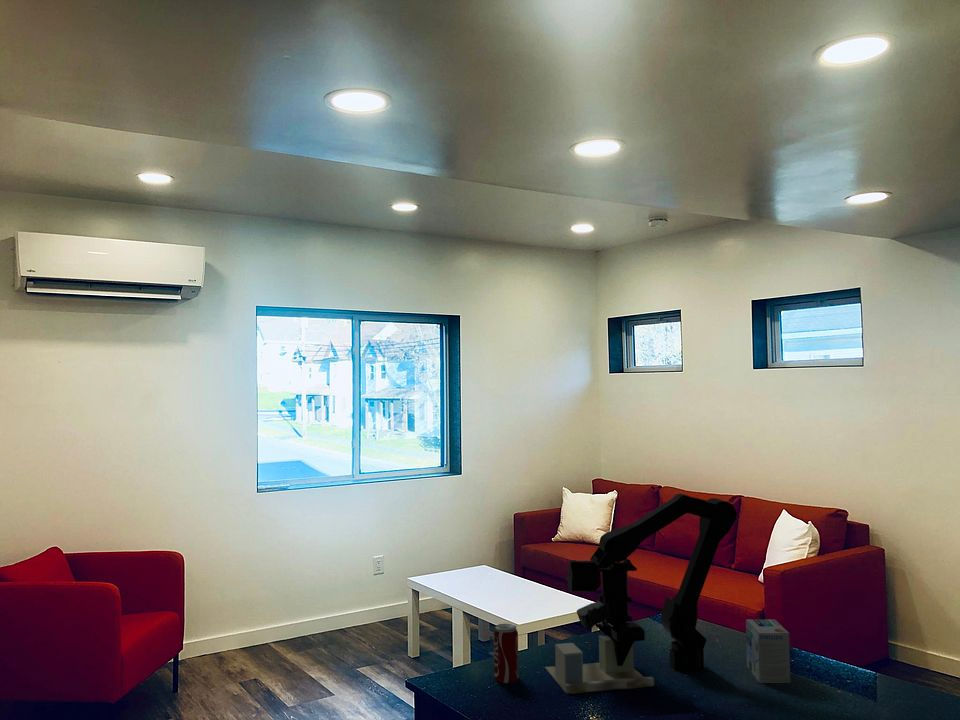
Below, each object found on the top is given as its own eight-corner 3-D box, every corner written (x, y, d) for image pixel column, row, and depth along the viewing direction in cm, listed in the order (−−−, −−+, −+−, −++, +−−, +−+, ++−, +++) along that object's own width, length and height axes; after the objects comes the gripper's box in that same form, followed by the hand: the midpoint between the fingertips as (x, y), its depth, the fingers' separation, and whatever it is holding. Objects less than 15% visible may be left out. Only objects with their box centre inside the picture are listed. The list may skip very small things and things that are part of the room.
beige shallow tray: (625, 665, 174) (624, 653, 174) (654, 691, 158) (654, 678, 158) (544, 671, 171) (544, 660, 171) (566, 698, 155) (566, 686, 155)
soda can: (516, 688, 161) (515, 630, 161) (492, 686, 162) (491, 629, 162) (520, 679, 166) (519, 623, 166) (496, 678, 167) (496, 622, 168)
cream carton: (573, 675, 165) (572, 642, 165) (583, 687, 158) (582, 652, 159) (555, 677, 164) (555, 644, 165) (565, 688, 158) (564, 654, 158)
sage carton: (599, 667, 170) (598, 635, 170) (627, 665, 171) (626, 633, 172) (605, 673, 166) (605, 640, 166) (634, 671, 167) (633, 638, 168)
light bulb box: (746, 666, 172) (744, 618, 173) (776, 667, 172) (775, 618, 172) (759, 684, 162) (758, 632, 162) (792, 684, 161) (790, 632, 162)
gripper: (567, 583, 177) (568, 651, 176) (594, 603, 159) (596, 680, 158) (612, 580, 179) (614, 648, 178) (644, 600, 161) (646, 676, 160)
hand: (616, 662), depth 169 cm, fingers closed on sage carton, 4 cm apart
